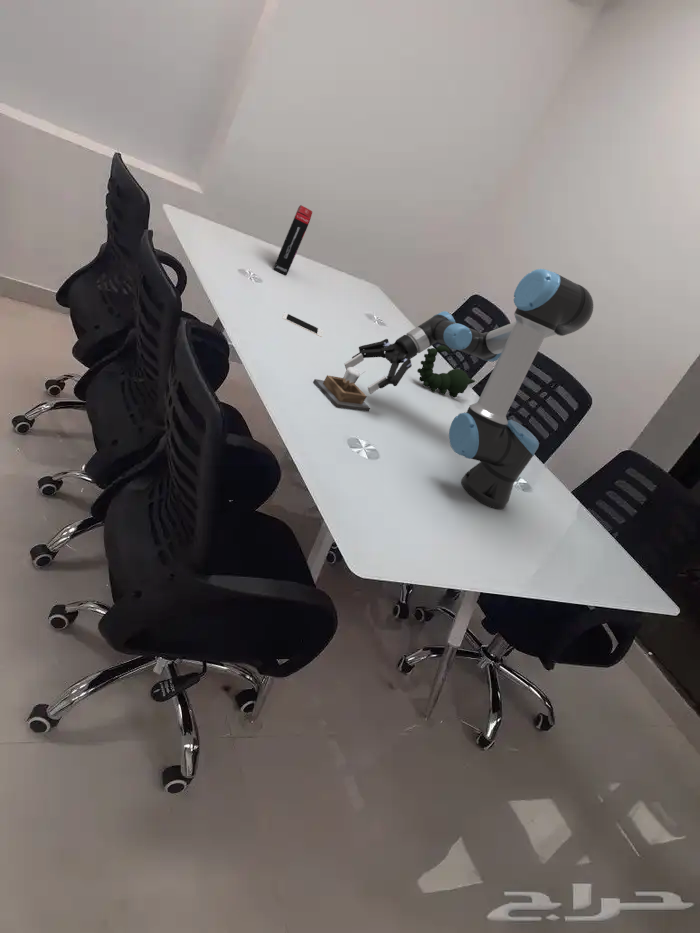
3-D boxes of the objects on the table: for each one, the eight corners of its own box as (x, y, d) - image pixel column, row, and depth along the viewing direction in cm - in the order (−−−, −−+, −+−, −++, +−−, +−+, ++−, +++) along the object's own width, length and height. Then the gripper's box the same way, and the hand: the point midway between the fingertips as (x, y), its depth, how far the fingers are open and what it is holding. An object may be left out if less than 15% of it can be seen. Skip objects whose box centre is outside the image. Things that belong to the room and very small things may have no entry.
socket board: (368, 411, 227) (374, 400, 225) (335, 407, 217) (341, 395, 216) (345, 387, 235) (351, 376, 234) (313, 382, 226) (318, 370, 224)
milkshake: (349, 400, 224) (363, 373, 220) (334, 392, 224) (348, 364, 219) (352, 396, 228) (366, 369, 224) (337, 388, 228) (351, 361, 224)
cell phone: (321, 338, 267) (322, 336, 267) (281, 319, 264) (282, 317, 264) (322, 331, 274) (323, 330, 274) (283, 313, 271) (284, 311, 271)
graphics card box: (286, 276, 314) (312, 218, 302) (271, 269, 312) (297, 210, 300) (289, 267, 329) (314, 211, 317) (275, 260, 327) (299, 204, 315)
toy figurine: (416, 392, 270) (470, 405, 281) (437, 348, 261) (492, 363, 272) (407, 380, 277) (461, 393, 288) (428, 337, 268) (482, 351, 279)
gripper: (436, 373, 225) (381, 408, 221) (391, 333, 240) (338, 365, 236) (433, 356, 219) (376, 392, 215) (387, 316, 234) (333, 349, 230)
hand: (357, 378), depth 225 cm, fingers open, 13 cm apart
